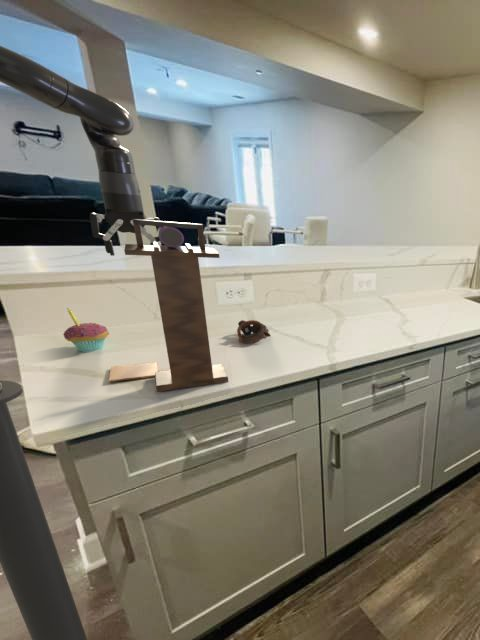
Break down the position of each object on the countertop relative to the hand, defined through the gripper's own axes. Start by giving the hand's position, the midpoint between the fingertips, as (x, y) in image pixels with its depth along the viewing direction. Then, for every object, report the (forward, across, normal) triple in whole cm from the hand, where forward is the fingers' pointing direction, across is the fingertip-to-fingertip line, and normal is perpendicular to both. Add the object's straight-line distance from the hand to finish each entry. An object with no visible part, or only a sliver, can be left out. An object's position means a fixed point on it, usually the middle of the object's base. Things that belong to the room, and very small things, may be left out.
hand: (133, 255), depth 104 cm
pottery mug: (+26, -26, +7) cm, 37 cm away
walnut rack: (+25, -8, +31) cm, 41 cm away
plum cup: (-6, -8, +25) cm, 27 cm away
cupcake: (+26, +12, +1) cm, 28 cm away
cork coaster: (+25, +3, +22) cm, 34 cm away
